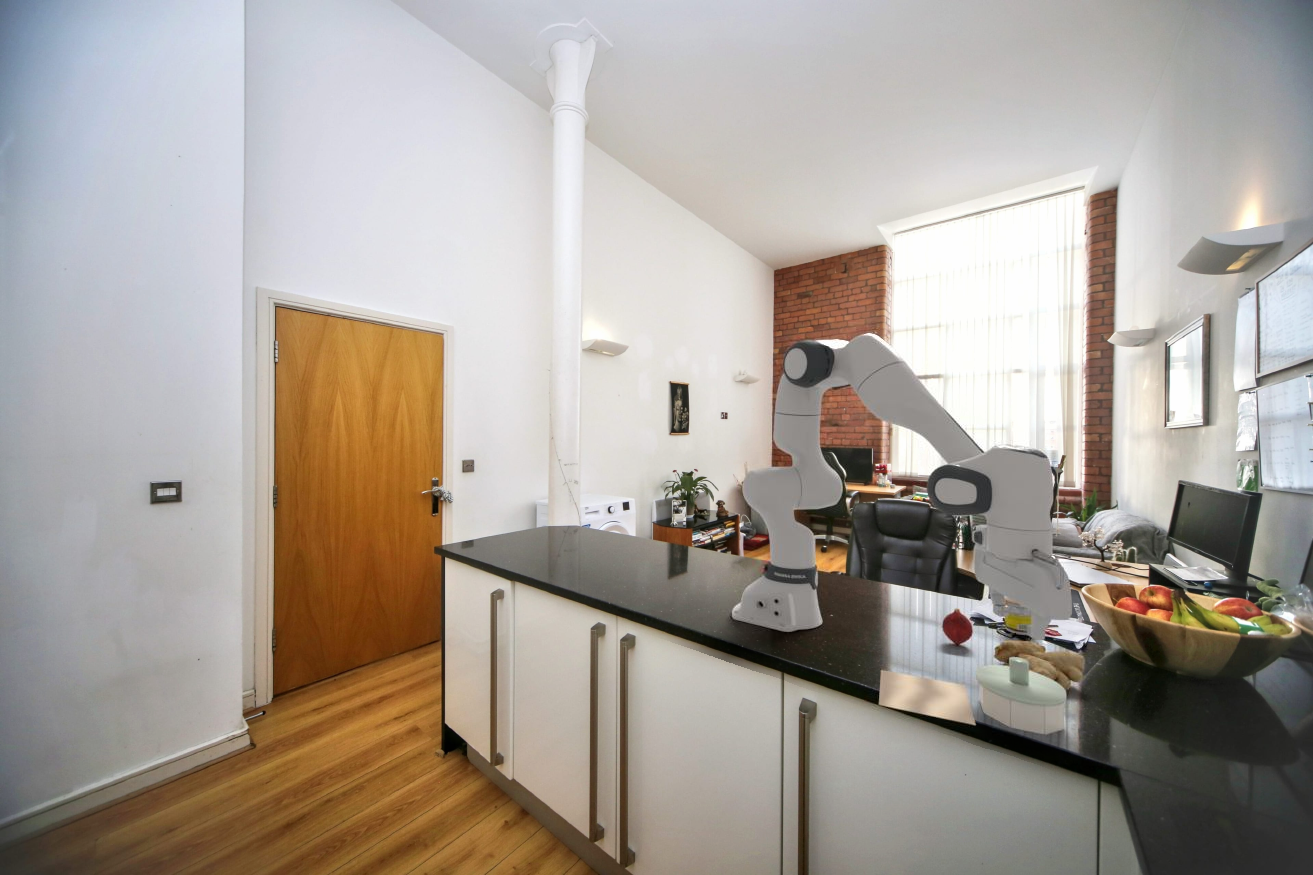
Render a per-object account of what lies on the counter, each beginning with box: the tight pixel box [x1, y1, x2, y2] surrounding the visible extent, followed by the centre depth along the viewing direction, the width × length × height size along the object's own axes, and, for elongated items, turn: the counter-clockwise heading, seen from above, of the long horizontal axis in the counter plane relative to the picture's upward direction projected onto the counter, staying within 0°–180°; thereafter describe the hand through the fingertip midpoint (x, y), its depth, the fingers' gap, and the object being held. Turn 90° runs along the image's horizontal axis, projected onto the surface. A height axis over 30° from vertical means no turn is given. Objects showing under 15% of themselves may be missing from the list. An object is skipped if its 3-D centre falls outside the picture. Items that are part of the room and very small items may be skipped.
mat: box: [878, 669, 977, 726], centre depth 87 cm, size 14×14×1 cm
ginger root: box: [993, 640, 1086, 692], centre depth 94 cm, size 16×16×8 cm
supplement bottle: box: [1004, 596, 1033, 636], centre depth 117 cm, size 6×6×10 cm
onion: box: [941, 607, 973, 646], centre depth 110 cm, size 6×6×8 cm
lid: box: [975, 657, 1067, 706], centre depth 81 cm, size 12×12×4 cm
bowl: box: [979, 684, 1065, 735], centre depth 81 cm, size 11×11×5 cm
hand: (1017, 625), depth 82 cm, fingers open, 8 cm apart
